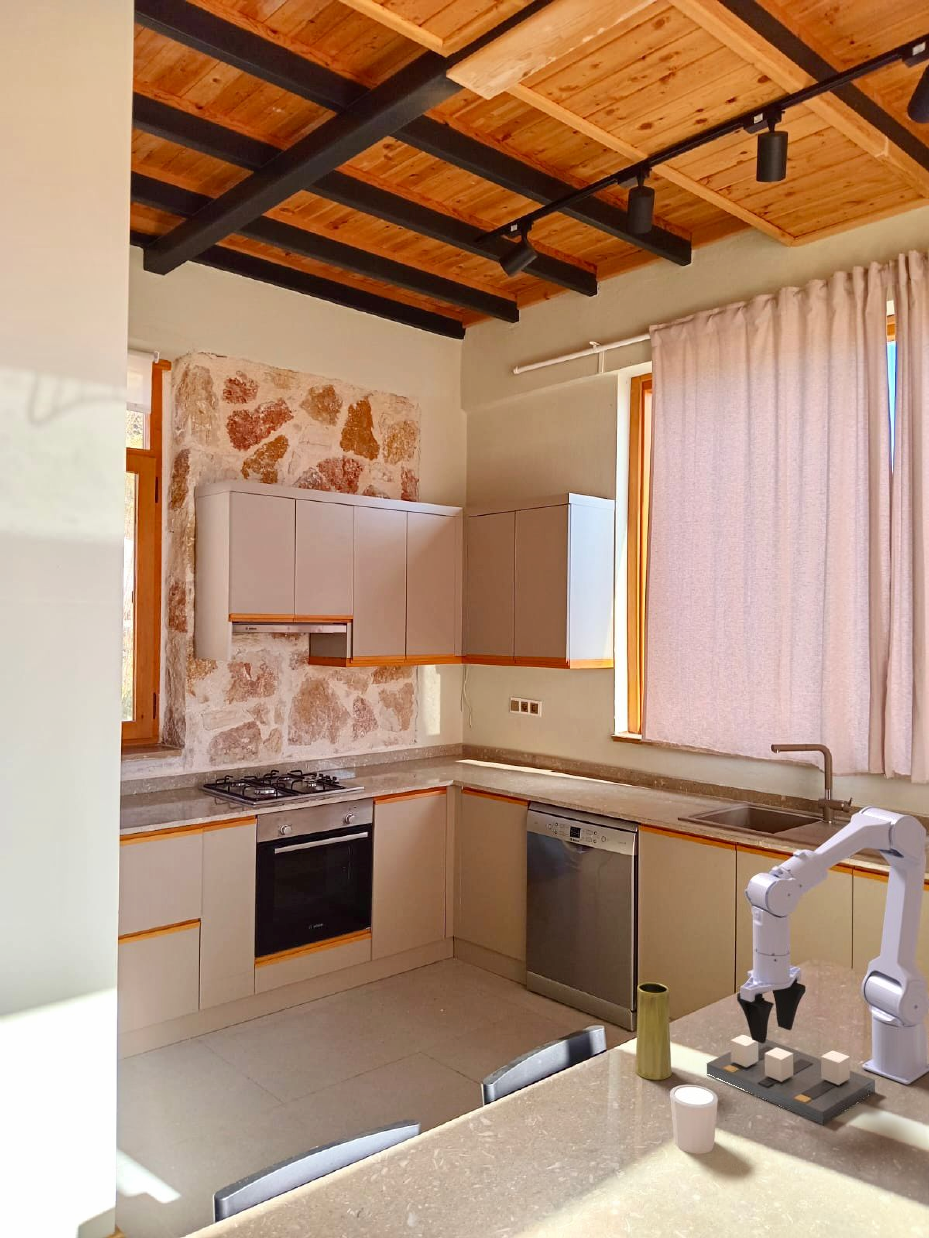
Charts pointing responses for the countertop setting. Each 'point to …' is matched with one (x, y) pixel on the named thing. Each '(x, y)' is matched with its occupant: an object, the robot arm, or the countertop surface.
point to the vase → (653, 1032)
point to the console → (795, 1084)
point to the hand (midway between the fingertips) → (771, 1034)
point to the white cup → (694, 1118)
